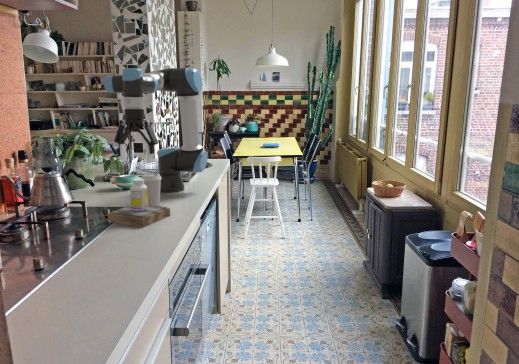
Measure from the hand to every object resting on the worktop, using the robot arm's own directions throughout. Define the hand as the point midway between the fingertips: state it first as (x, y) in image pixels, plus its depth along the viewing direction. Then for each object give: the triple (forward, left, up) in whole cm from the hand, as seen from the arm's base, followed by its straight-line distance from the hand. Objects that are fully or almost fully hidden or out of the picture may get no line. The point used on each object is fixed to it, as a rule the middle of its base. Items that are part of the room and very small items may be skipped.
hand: (136, 160), depth 172 cm
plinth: (0, 0, -25) cm, 25 cm away
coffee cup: (-19, -8, -25) cm, 32 cm away
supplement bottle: (0, 0, -21) cm, 21 cm away
